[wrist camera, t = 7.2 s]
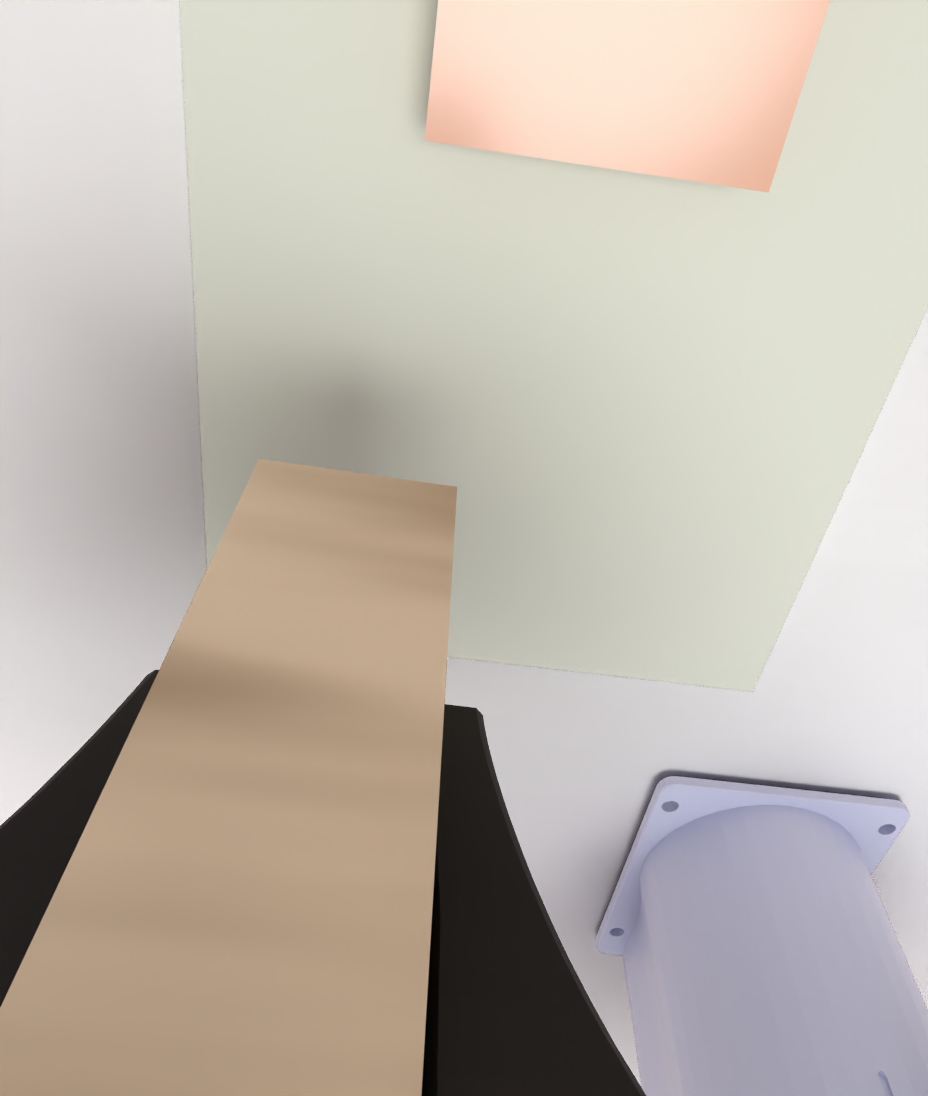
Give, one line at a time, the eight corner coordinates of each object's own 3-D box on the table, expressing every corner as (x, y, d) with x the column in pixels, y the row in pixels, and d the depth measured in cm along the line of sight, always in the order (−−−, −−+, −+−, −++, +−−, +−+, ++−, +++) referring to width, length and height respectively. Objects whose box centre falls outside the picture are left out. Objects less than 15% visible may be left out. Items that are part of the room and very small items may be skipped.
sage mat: (748, 679, 24) (753, 691, 24) (214, 618, 23) (209, 630, 23) (1270, -492, 12) (1299, -510, 11) (155, -725, 11) (142, -752, 10)
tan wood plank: (418, 718, 16) (355, 1394, 8) (255, 698, 15) (38, 1372, 8) (457, 486, 13) (415, 1192, 5) (258, 459, 13) (-68, 1150, 5)
